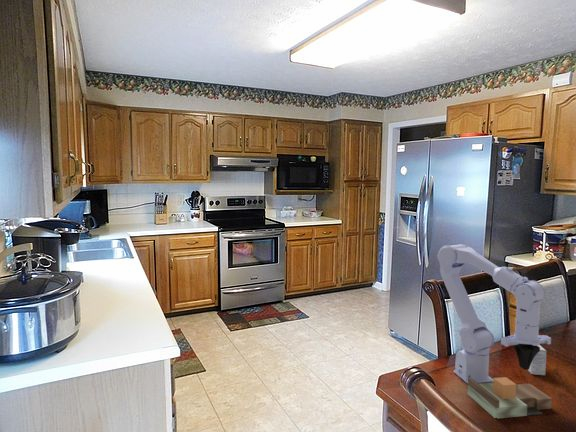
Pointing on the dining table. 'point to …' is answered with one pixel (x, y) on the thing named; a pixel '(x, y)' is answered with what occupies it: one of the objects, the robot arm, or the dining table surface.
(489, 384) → the board
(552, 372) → the dining table surface
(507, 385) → the orange block
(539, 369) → the medicine box
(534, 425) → the dining table surface
